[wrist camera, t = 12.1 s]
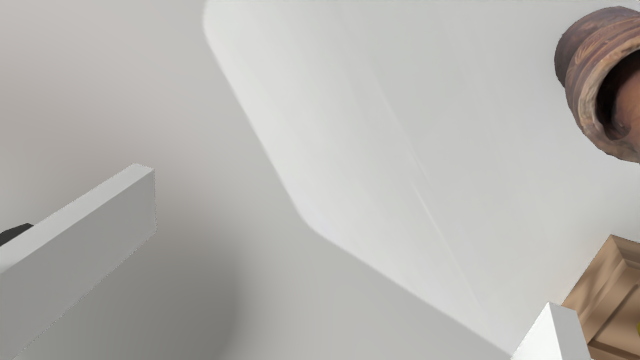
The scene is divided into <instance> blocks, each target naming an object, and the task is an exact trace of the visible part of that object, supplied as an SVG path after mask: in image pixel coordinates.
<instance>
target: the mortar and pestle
mask: <svg viewBox="0 0 640 360" xmlns="http://www.w3.org/2000/svg"><path fill="white" fill-rule="evenodd" d="M554 62H555V71H556V75H557V77H558V80H559V81H560V82H561V84H562V86H563V87H564V88H565V92H566V99H567V102H568V106H569V108H570V110H571V112H572V114H573V116H574V118H575V120H576V123H577V125H578V127H579V128H580V129H581V130H582V132H583V134H584V135H585V136H587V137H588V138H589V139H590V140H591V141H592V142H593V144H594V145H595V146H596V147H597V148H598V149H600V150H602V151H604V152H605V153H606V154H608V155H612V156H614V157H616V158H618V159H620V160H625V161H630V162H635V163H640V12H637V11H634V10H632V9H628V8H625V7H622V6H617V7H609V8H604V9H600V10H598V11H595V12H593V13H591V14H589V15H587V16H585V17H583V18H581V19H580V20H578V21H577V22H575V23H574V24H573V25H572V26H571V27H570V28H569V29H568V30H567V31H566V32H565V33H564V34H563V35H562V37H561V39H560V40H559V42H558V45H557V48H556V52H555V57H554Z"/></svg>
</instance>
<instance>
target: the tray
mask: <svg viewBox="0 0 640 360" xmlns="http://www.w3.org/2000/svg"><path fill="white" fill-rule="evenodd" d="M561 306H563V307H566V308H569V309H572V310H575V311H576V312H577V316H578V319H579V322H580V325H581V328H582V332H583V335H584V338H585V341H586V344H587V348H588V351H589V354H590V357H591V358H592V359H594V360H640V336H639V334H638V331H637V324H638V323H639V322H640V243H637V242H634V241H630V240H627V239H624V238H620V237H617V236H614V235H610V236H609V238H608V239H607V241H606V242H605V243H604V245H603V246H602V248H601V249H600V251H599V252H598V253H597V255H596V256H595V258H594V259H593V261H592V262H591V263H590V265H589V266H588V268H587V269H586V271H585V272H584V274H583V275H582V276H581V278H580V279H579V281H578V282H577V284H576V285H575V286H574V288H573V289H572V291H571V292H570V294H569V295H568V296H567V298H566V299H565V301H564V302H563V304H562V305H561Z"/></svg>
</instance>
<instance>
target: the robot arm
mask: <svg viewBox="0 0 640 360" xmlns="http://www.w3.org/2000/svg"><path fill="white" fill-rule="evenodd" d="M156 231H157V228H156V203H155V175H154V169H152V168H149V167H146V166H143V165H140V164H137V163H134V164H132V165H131V166H129V167H128V168H126V169H124V170H123V171H121V172H120V173H118V174H116V175H115V176H113V177H112V178H110V179H108V180H107V181H105V182H103V183H102V184H100V185H99V186H97V187H96V188H94V189H92V190H91V191H89V192H88V193H86V194H84V195H83V196H81V197H79V198H78V199H76V200H75V201H73V202H72V203H70V204H68V205H67V206H65V207H64V208H62V209H60V210H59V211H57V212H55V213H54V214H52V215H50V216H49V217H48V218H46V219H44V220H42V221H41V222H39V223H38V224H36V225H35V226H34V225H31V224H29V223H26V224H23V225H20V226H18V227H15V228H12V229H9V230H6V231H4V232H2V233H1V234H0V360H12V359H14V358H15V357H16V356H17V355H18V354H19V353H21V351H23V350H24V349H25V348H26V347H27V346H28V345H30V344H31V343H32V342H33V341H34V340H35V339H36V338H37V337H39V336H40V335H41V334H42V333H43V332H44V331H45V330H46V329H47V328H49V327H50V326H51V325H52V324H53V323H54V322H55V321H57V320H58V319H59V318H60V317H61V316H62V315H63V314H64V313H65V312H67V311H68V310H69V309H70V308H71V307H72V306H73V305H75V304H76V303H77V302H78V301H79V300H80V299H81V298H82V297H84V296H85V295H86V294H87V293H88V292H89V291H90V290H91V289H92V288H94V287H95V286H96V285H97V284H98V283H99V282H100V281H102V280H103V279H104V278H105V277H106V276H107V275H108V274H109V273H111V272H112V271H113V270H114V269H115V268H116V267H117V266H118V265H119V264H121V263H122V262H123V261H124V260H125V259H126V258H127V257H128V256H130V254H132V253H133V252H134V251H135V250H136V249H138V248H139V247H140V246H141V245H142V244H143V243H144V242H145V241H147V239H149V238H150V237H151V236H152V235H153V234H154V233H155V232H156ZM510 360H591V357H590V354H589V351H588V348H587V344H586V341H585V338H584V335H583V332H582V328H581V325H580V322H579V319H578V316H577V312H576V311H575V310H572V309H569V308H566V307H563V306H560V305H557V304H554V303H551V302H548V303H547V305H546V306H545V308H544V309H543V311H542V312H541V314H540V315H539V317H538V318H537V320H536V321H535V323H534V324H533V326H532V327H531V329H530V330H529V332H528V333H527V335H526V336H525V338H524V339H523V341H522V342H521V344H520V346H519V347H518V349H517V350H516V352H515V353H514V355H513V356H512V358H511V359H510Z"/></svg>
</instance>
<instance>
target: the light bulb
mask: <svg viewBox="0 0 640 360" xmlns="http://www.w3.org/2000/svg"><path fill="white" fill-rule="evenodd" d="M637 331H638V334H639V336H640V322H639V323H638V324H637Z"/></svg>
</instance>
